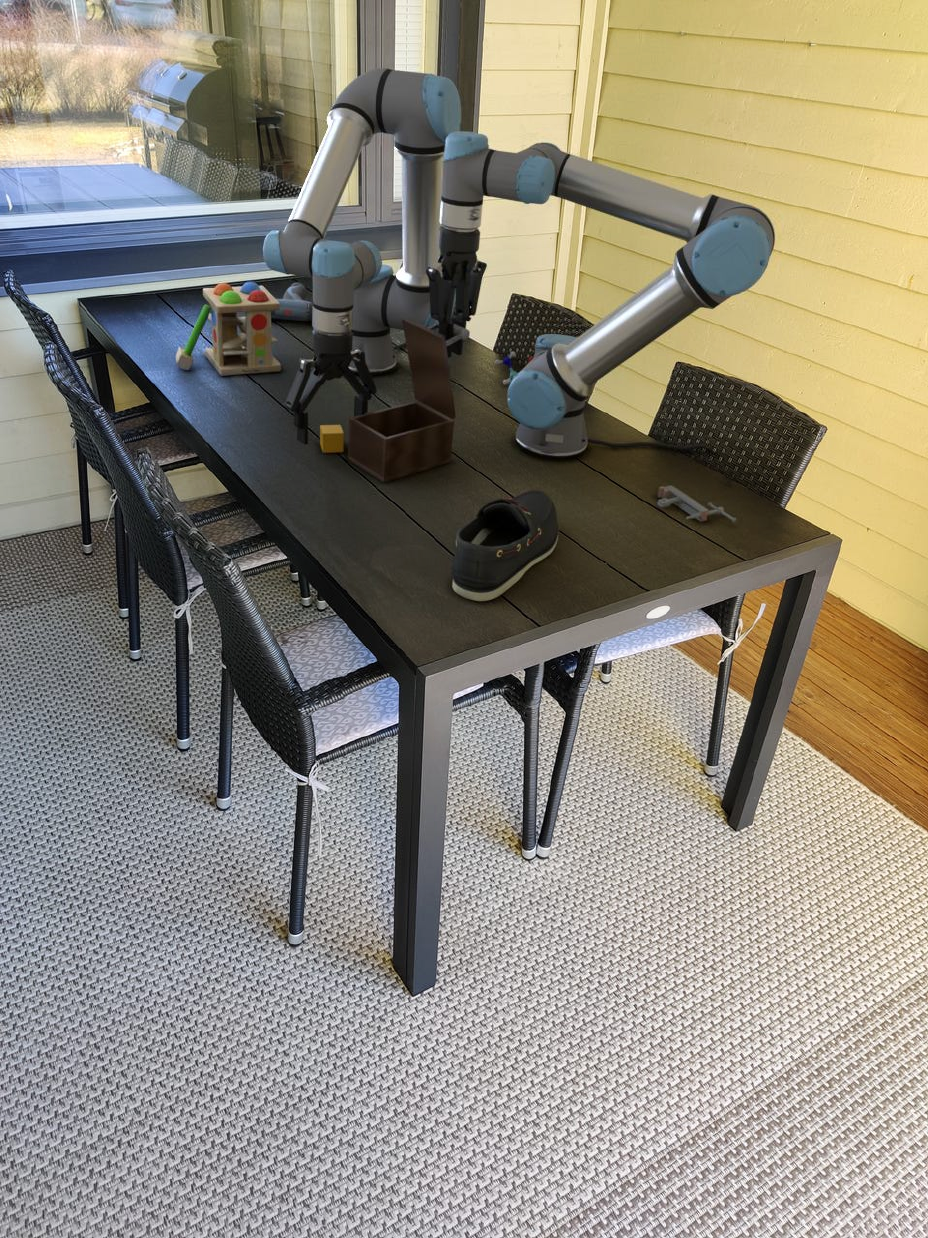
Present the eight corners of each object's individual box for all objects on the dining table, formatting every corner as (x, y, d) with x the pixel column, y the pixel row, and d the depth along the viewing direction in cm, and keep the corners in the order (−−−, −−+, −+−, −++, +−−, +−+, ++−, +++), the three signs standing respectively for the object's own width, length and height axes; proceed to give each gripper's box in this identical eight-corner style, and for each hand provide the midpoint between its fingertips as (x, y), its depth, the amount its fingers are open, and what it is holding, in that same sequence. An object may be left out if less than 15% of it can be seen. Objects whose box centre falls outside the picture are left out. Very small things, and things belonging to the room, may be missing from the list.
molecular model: (539, 386, 226) (526, 343, 224) (502, 400, 229) (488, 358, 228) (551, 385, 236) (539, 344, 235) (515, 398, 240) (503, 358, 238)
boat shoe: (583, 534, 177) (590, 481, 172) (488, 608, 153) (493, 549, 148) (521, 514, 183) (526, 462, 178) (421, 583, 159) (423, 525, 154)
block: (322, 452, 196) (322, 433, 193) (320, 444, 199) (320, 425, 197) (343, 452, 197) (343, 432, 194) (340, 443, 200) (340, 424, 198)
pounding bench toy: (183, 379, 220) (176, 299, 210) (169, 357, 231) (162, 280, 221) (282, 371, 230) (280, 294, 220) (264, 350, 240) (262, 276, 230)
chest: (383, 482, 187) (385, 439, 182) (348, 459, 194) (348, 417, 189) (450, 462, 197) (454, 420, 192) (414, 441, 204) (416, 400, 199)
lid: (441, 337, 179) (474, 319, 183) (401, 319, 186) (434, 302, 190) (452, 419, 191) (483, 401, 195) (415, 399, 198) (445, 382, 202)
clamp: (647, 488, 189) (686, 480, 193) (645, 499, 190) (684, 490, 195) (698, 524, 178) (739, 515, 183) (696, 535, 180) (736, 525, 184)
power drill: (344, 304, 276) (335, 327, 259) (277, 298, 275) (264, 321, 258) (344, 285, 273) (335, 306, 256) (277, 279, 272) (264, 300, 255)
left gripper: (286, 345, 175) (288, 455, 186) (397, 326, 189) (392, 429, 201) (264, 333, 179) (267, 441, 191) (374, 315, 194) (370, 416, 205)
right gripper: (441, 235, 171) (433, 366, 184) (504, 228, 180) (491, 353, 193) (414, 225, 175) (408, 354, 189) (477, 218, 184) (466, 342, 197)
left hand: (331, 435), depth 196 cm, fingers open, 13 cm apart
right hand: (450, 353), depth 191 cm, fingers closed on lid, 2 cm apart
